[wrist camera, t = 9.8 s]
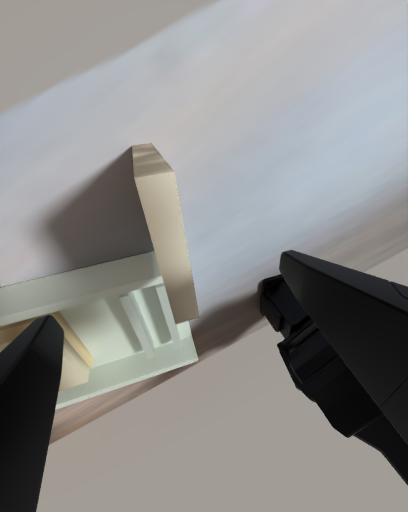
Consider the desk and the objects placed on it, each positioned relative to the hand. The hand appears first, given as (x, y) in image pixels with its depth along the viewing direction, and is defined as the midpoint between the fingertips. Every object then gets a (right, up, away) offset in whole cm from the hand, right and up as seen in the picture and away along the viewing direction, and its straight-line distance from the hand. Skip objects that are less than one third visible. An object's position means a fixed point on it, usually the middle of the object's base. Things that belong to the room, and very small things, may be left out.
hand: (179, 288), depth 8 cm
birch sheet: (-3, +6, +9) cm, 12 cm away
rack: (-10, -6, +15) cm, 19 cm away
